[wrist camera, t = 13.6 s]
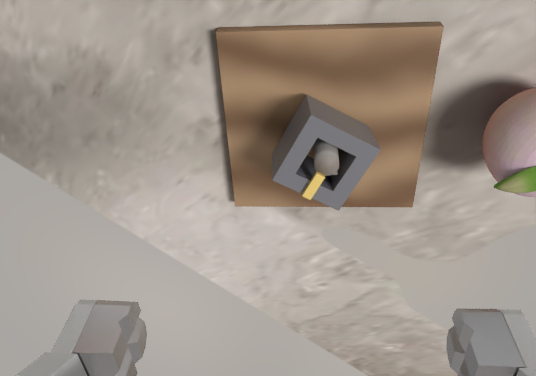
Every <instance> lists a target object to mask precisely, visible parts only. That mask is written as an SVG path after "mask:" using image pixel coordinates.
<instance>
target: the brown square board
mask: <svg viewBox="0 0 536 376" xmlns="http://www.w3.org/2000/svg"><path fill="white" fill-rule="evenodd" d="M443 27H444V26H443V25H442V24H441V22H410V23H372V24H333V25H295V26H257V27H219V28H217V30H216V40H217V49H218V58H219V67H220V75H221V84H222V93H223V102H224V111H225V120H226V129H227V138H228V147H229V156H230V165H231V174H232V183H233V192H234V201H235V206H280V207H330V206H327V205H325V204H323V203H321V202H319V201H316V200H314V199H311V200H309V199H307V198H305V197H303V196H302V194H301V193H299V192H297V191H295V190H292V189H290V188H288V187H286V186H284V185H281V184H279V183H277V182H275V181H273V180H272V153H273V151H274V149H275V148H276V146H277V144H278V142H279V141H280V139H281V137H282V136H283V134H284V132H285V130H286V129H287V127H288V125H289V123H290V122H291V120H292V118H293V116H294V115H295V113H296V111H297V110H298V108H299V106H300V104H301V103H302V101H303V99H304V97H305V96H306V94H307V95H309V96H311V97H313V98H315V99H317V100H319V101H321V102H323V103H325V104H327V105H329V106H331V107H333V108H334V109H336V110H338V111H340V112H342V113H344V114H346V115H348V116H350V117H352V118H354V119H356V120H358V121H360V122H362V123H364V124H366V125H368V126H369V127H370V129H371V131H372V133H373V135H374V137H375V139H376V141H377V143H378V145H379V147H380V149H381V151H380V152H379V154H378V155H377V156H376V158H375V159H374V161H373V162H372V164H371V165H370V166H369V168H368V169H367V171H366V172H365V174H364V175H363V176H362V178H361V179H360V181H359V182H358V184H357V185H356V186H355V188H354V189H353V191H352V192H351V194H350V195H349V196H348V198H347V199H346V201H345V202H344V204H343V205H342V206H341V207H413V201H414V195H415V189H416V184H417V178H418V172H419V166H420V160H421V154H422V149H423V143H424V137H425V131H426V125H427V120H428V114H429V108H430V102H431V96H432V90H433V85H434V79H435V73H436V67H437V61H438V56H439V50H440V44H441V38H442V32H443ZM307 155H308V156H310V157H312V158H314V167H315V173H316V171H317V172H319V173H321V174H323V175H325V176H328V175H338V169H339V156H338V147H336V146H334V145H332V144H329V143H327V142H325V141H323V140H321V139H319V138H317V140H316V141H315V143H314V144H313V146H312V148H311V149H310V151H309V153H308V154H307Z"/></svg>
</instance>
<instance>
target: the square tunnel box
mask: <svg viewBox="0 0 536 376" xmlns="http://www.w3.org/2000/svg"><path fill="white" fill-rule="evenodd" d="M317 138H319V139H321V140H323V141H325V142H327V143H329V144H332V145H334V146H336V147H338V156H339V169H338V175H328V176H325V175H323V174H321V173H319V172H317V171H316V173H315V167H314V158H312V157H310V156H308V155H307V154H308V153H309V151H310V149H311V148H312V146H313V144H314V143H315V141H316V140H317ZM380 151H381V149H380V147H379V145H378V143H377V141H376V139H375V137H374V135H373V133H372V131H371V129H370V127H369V126H368V125H366V124H364V123H362V122H360V121H358V120H356V119H354V118H352V117H350V116H348V115H346V114H344V113H342V112H340V111H338V110H336V109H334V108H333V107H331V106H329V105H327V104H325V103H323V102H321V101H319V100H317V99H315V98H313V97H311V96H309V95H307V94H306V96H305V97H304V99H303V101H302V103H301V104H300V106H299V108H298V110H297V111H296V113H295V115H294V116H293V118H292V120H291V122H290V123H289V125H288V127H287V129H286V130H285V132H284V134H283V136H282V137H281V139H280V141H279V142H278V144H277V146H276V148H275V149H274V151H273V153H272V180H273V181H275V182H277V183H279V184H281V185H284V186H286V187H288V188H290V189H292V190H295V191H297V192H299V193H301V194H302V196H303V197H305V198H307V199H309V200H311V199H314V200H316V201H319V202H321V203H323V204H325V205H327V206H330V207H332V208H334V209H336V210H338V211H339V209H340V208H341V206H342V205H343V204H344V202H345V201H346V199H347V198H348V196H349V195H350V194H351V192H352V191H353V189H354V188H355V186H356V185H357V184H358V182H359V181H360V179H361V178H362V176H363V175H364V174H365V172H366V171H367V169H368V168H369V166H370V165H371V164H372V162H373V161H374V159H375V158H376V156H377V155H378V154H379V152H380Z"/></svg>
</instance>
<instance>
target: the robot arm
mask: <svg viewBox="0 0 536 376" xmlns="http://www.w3.org/2000/svg"><path fill="white" fill-rule="evenodd" d="M140 311H141V310H140V307H139V304H138V302H124V301H105V300H80V301H79V302H78V303H77V304H76V305H75V306H74V308H73V310H72V312H71V314H70V316H69V318H68V320H67V322H66V324H65V326H64V328H63V330H62V332H61V334H60V336H59V338H58V340H57V342H56V344H55V345H54V348H53V349H52V351H51V353H44V354H43V355H42V356H40V357H39V358H38V359H37V360H35V361H34V362H33V363H31V364H30V365H29V366H27V367H26V368H25V369H24V370H23V371H21V372H20V373H18V374H17V375H16V376H136V375H137V370H136V367H135V363H136V362H137V361H138V360H139V359H141V358H142V356H143V353H144V349H145V345H146V337H147V333H146V326H145V323H144V321H143V320H142V319H140V318H139V314H140ZM452 319H453V323H454V326H453V327H452V328H451V329H449V331H448V335H447V354H448V359H449V363H450V367H451V368H452V369H453V370H454V371H455V372H456V373H457V374H458V376H536V338H535V336H534V334H533V332H532V329H531V327H530V325H529V323H528V321H527V319H526V317H525V315H524V313H523V312H522V311H521V310H497V309H456V310H455V311H454V314H453V317H452Z"/></svg>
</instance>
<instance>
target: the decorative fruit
mask: <svg viewBox="0 0 536 376" xmlns="http://www.w3.org/2000/svg"><path fill="white" fill-rule="evenodd" d="M483 155H484V158H485V161H486V164H487V166H488V169H489V171H490V172H491V174H492V175H493V177H494V178H495V179H496V180H497V182H498V183H497V184H496V185H494V188H497V189H499V190H502V191H505V192H511V193H515V194H518V195H522V196H529V197H536V88H531V89H527V90H525V91H522V92H520V93H518V94H516V95H514V96H513V97H511V98H509V99H508V100H507V101H505V102H504V103H503V104H501V105H500V106H499V107H498V108H497V109H496V110H495V112H494V113H493V114H492V116H491V117H490V119H489V121H488V123H487V125H486V127H485V130H484V134H483Z"/></svg>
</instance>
